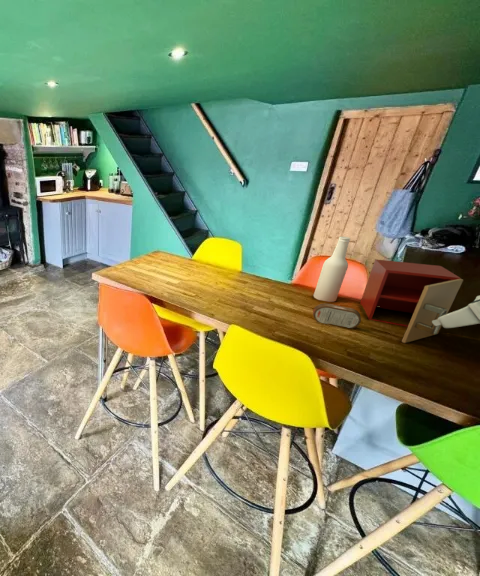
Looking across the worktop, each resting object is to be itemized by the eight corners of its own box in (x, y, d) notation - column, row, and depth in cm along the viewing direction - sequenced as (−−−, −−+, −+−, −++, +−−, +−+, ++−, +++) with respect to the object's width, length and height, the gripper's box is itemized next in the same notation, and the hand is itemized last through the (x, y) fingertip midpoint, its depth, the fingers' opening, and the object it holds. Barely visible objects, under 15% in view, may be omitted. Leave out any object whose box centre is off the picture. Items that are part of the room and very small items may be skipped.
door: (457, 340, 108) (486, 284, 100) (424, 351, 102) (451, 292, 94) (434, 332, 114) (459, 278, 106) (401, 342, 108) (425, 285, 100)
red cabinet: (435, 332, 114) (460, 278, 106) (367, 320, 123) (386, 269, 115) (419, 315, 127) (440, 265, 119) (359, 306, 136) (375, 259, 128)
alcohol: (310, 299, 143) (330, 237, 132) (315, 294, 148) (335, 234, 137) (332, 305, 137) (355, 240, 125) (337, 300, 142) (359, 237, 131)
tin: (356, 329, 117) (363, 309, 114) (357, 332, 115) (365, 312, 111) (310, 319, 124) (316, 300, 121) (310, 322, 122) (316, 303, 118)
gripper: (502, 292, 93) (445, 308, 105) (472, 303, 85) (414, 319, 97) (518, 310, 91) (457, 324, 103) (488, 324, 83) (427, 337, 95)
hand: (436, 322), depth 100 cm, fingers closed on door, 2 cm apart
